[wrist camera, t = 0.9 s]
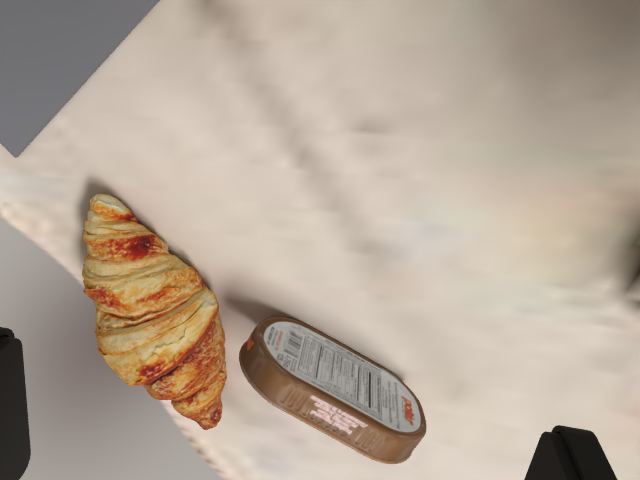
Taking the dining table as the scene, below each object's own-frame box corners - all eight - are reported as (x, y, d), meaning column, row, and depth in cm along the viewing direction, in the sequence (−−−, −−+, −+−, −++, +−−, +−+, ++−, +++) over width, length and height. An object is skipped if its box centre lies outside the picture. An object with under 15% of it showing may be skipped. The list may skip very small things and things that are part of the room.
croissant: (96, 186, 47) (7, 231, 42) (167, 165, 41) (72, 214, 35) (207, 392, 54) (142, 454, 48) (283, 402, 47) (219, 475, 42)
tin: (251, 323, 47) (222, 388, 39) (269, 294, 45) (243, 355, 38) (408, 410, 48) (410, 489, 40) (429, 384, 47) (436, 461, 39)
